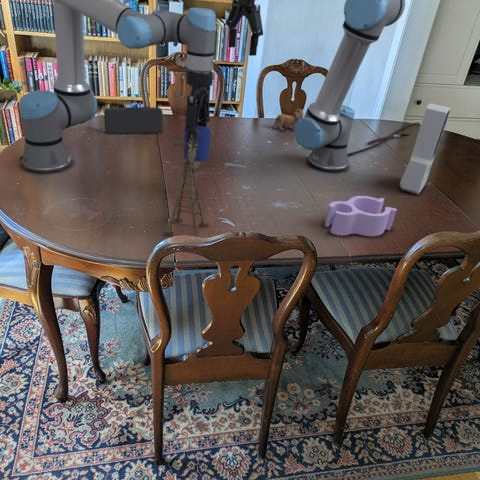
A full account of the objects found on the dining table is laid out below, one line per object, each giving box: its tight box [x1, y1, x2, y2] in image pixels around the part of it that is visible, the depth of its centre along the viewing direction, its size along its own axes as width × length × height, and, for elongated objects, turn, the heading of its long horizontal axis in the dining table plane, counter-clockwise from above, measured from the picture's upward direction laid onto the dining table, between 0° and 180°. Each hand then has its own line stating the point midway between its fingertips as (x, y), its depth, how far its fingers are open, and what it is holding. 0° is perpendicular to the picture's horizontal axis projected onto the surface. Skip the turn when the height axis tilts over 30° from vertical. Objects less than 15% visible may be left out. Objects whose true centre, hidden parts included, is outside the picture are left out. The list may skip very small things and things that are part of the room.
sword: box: [367, 132, 409, 145], centre depth 213 cm, size 31×3×1 cm, turn 126°
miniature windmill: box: [167, 129, 205, 238], centre depth 124 cm, size 9×8×30 cm
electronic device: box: [399, 102, 452, 195], centre depth 163 cm, size 12×8×30 cm, turn 148°
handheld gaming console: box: [103, 106, 164, 134], centre depth 189 cm, size 23×3×10 cm, turn 108°
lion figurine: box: [271, 108, 305, 131], centre depth 210 cm, size 15×5×9 cm, turn 110°
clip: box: [324, 195, 398, 237], centre depth 141 cm, size 20×12×7 cm, turn 109°
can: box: [183, 125, 212, 162], centre depth 142 cm, size 8×8×8 cm
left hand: (196, 146), depth 143 cm, fingers closed on can, 8 cm apart
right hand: (241, 51), depth 173 cm, fingers open, 13 cm apart
